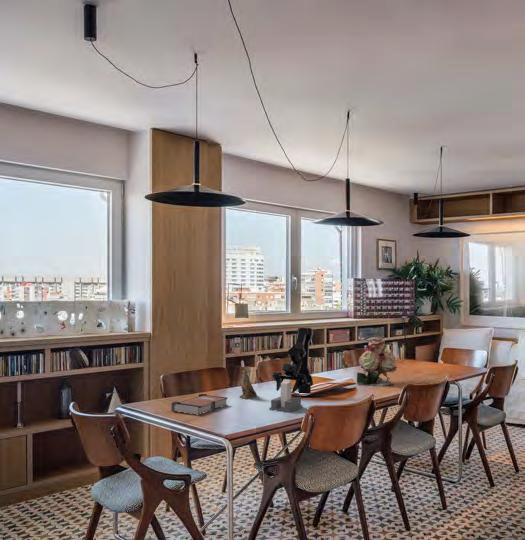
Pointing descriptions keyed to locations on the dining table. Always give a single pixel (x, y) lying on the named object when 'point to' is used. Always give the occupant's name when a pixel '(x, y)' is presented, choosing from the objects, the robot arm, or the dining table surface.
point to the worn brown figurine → (247, 387)
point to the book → (199, 404)
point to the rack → (286, 404)
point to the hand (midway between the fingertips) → (284, 391)
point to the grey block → (285, 392)
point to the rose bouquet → (375, 363)
